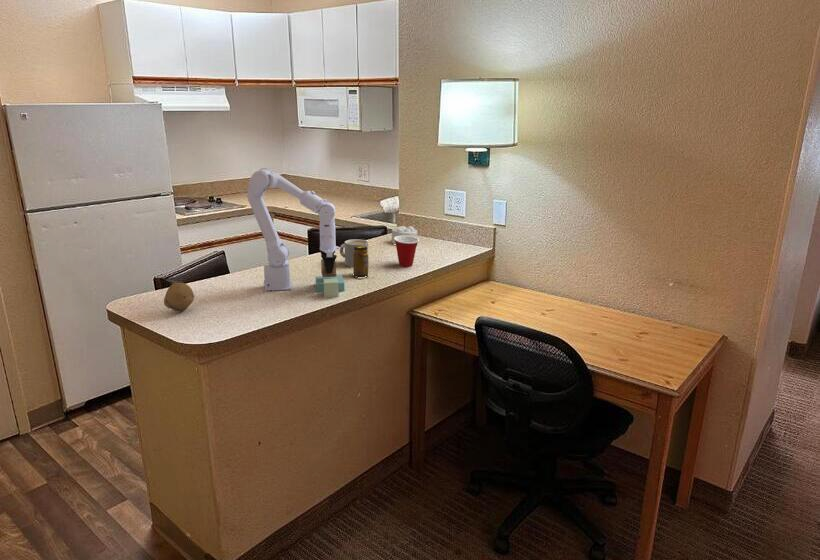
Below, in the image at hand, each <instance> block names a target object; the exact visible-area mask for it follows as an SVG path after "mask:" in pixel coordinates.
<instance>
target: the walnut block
mask: <svg viewBox="0 0 820 560" xmlns="http://www.w3.org/2000/svg"><path fill="white" fill-rule="evenodd" d="M320 265H321V267H320V268H321V276H323V277H336V275H337V262H336V260H335V262H334V266H333V272H332V273H326V269H325V264H324V261H323V259H320Z"/></svg>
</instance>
